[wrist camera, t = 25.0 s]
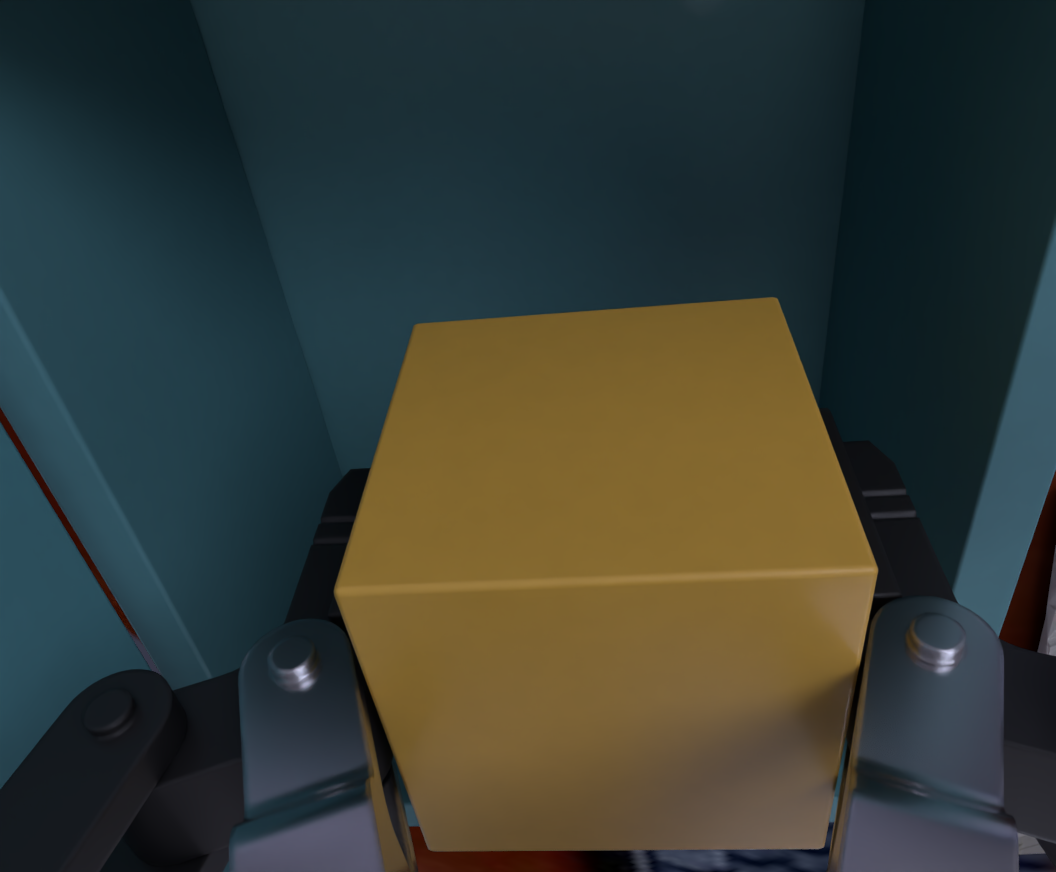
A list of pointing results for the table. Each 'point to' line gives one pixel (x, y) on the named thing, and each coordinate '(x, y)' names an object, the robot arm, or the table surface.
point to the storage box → (503, 248)
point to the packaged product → (1052, 643)
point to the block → (610, 583)
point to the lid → (46, 616)
